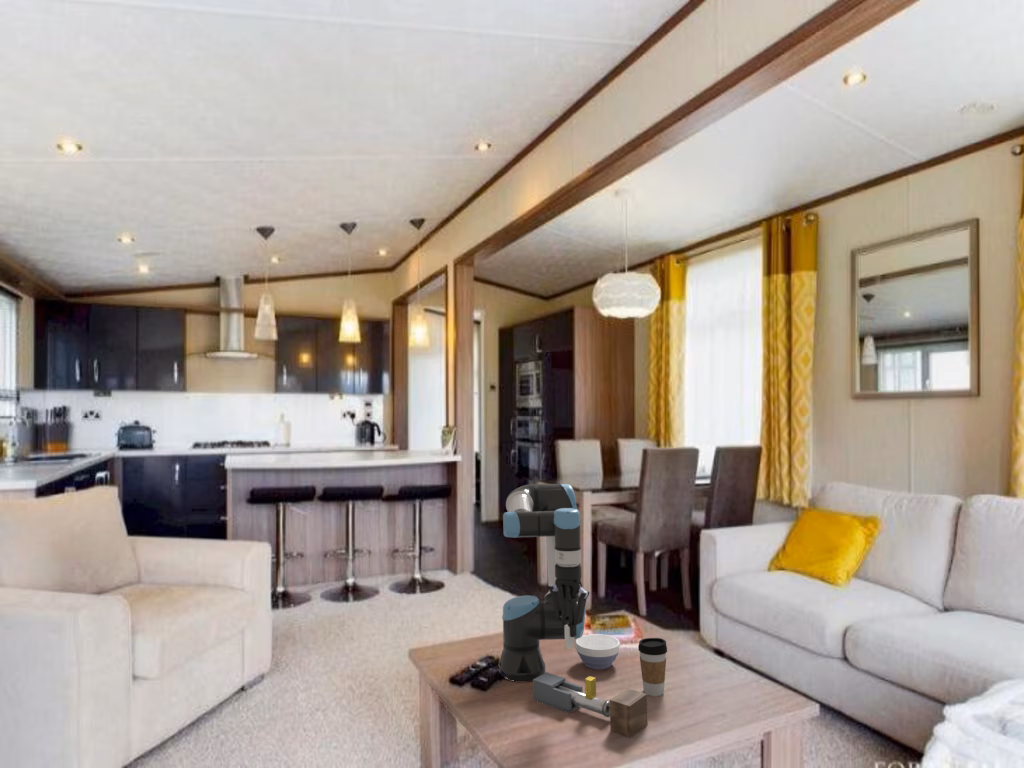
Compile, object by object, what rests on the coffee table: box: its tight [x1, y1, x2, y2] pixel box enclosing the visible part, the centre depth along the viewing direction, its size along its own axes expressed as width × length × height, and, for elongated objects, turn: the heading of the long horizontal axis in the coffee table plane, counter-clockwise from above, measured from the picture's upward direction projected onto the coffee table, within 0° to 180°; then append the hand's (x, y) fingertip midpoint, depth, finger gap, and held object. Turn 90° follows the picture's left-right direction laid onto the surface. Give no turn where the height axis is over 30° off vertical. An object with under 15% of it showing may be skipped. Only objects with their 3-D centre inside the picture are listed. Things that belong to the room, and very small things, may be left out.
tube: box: [554, 675, 610, 718], centre depth 186 cm, size 22×4×9 cm, turn 50°
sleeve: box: [532, 671, 583, 714], centre depth 190 cm, size 13×7×6 cm, turn 50°
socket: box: [609, 687, 648, 738], centre depth 175 cm, size 6×9×8 cm, turn 140°
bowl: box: [575, 633, 621, 671], centre depth 217 cm, size 14×14×8 cm
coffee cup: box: [637, 637, 668, 697], centre depth 196 cm, size 8×8×15 cm
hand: (569, 647), depth 187 cm, fingers closed
